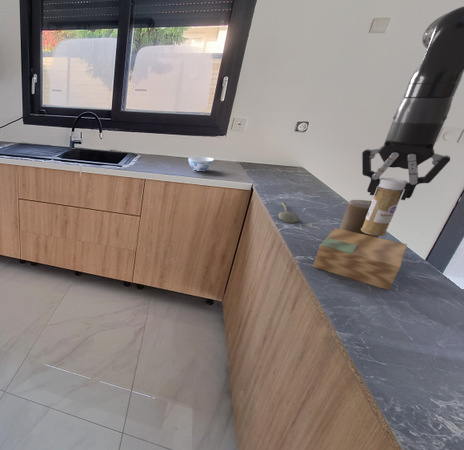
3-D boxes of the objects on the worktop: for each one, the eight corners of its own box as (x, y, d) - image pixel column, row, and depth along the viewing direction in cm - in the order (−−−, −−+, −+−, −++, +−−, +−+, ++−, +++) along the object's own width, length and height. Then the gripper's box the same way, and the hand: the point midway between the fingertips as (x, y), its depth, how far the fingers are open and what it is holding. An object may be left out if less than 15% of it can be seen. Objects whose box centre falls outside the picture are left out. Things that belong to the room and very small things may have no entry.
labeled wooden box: (397, 265, 89) (407, 243, 87) (389, 290, 79) (400, 266, 76) (328, 247, 101) (335, 227, 98) (312, 267, 90) (320, 245, 87)
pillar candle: (363, 252, 97) (381, 207, 91) (328, 239, 106) (343, 198, 100) (381, 246, 101) (399, 202, 95) (346, 234, 109) (361, 193, 103)
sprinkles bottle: (379, 238, 73) (403, 183, 68) (356, 231, 77) (376, 178, 72) (388, 234, 75) (412, 180, 70) (365, 227, 79) (385, 176, 74)
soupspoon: (277, 222, 122) (297, 226, 119) (280, 215, 120) (300, 218, 117) (274, 204, 139) (292, 206, 136) (276, 197, 137) (294, 199, 134)
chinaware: (187, 172, 196) (188, 160, 193) (186, 167, 209) (188, 156, 206) (213, 174, 191) (215, 161, 188) (210, 168, 204) (212, 157, 201)
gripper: (470, 120, 63) (432, 200, 70) (374, 117, 73) (350, 187, 80) (471, 123, 58) (431, 208, 65) (369, 120, 68) (344, 194, 75)
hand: (386, 196), depth 72 cm, fingers closed on sprinkles bottle, 4 cm apart
